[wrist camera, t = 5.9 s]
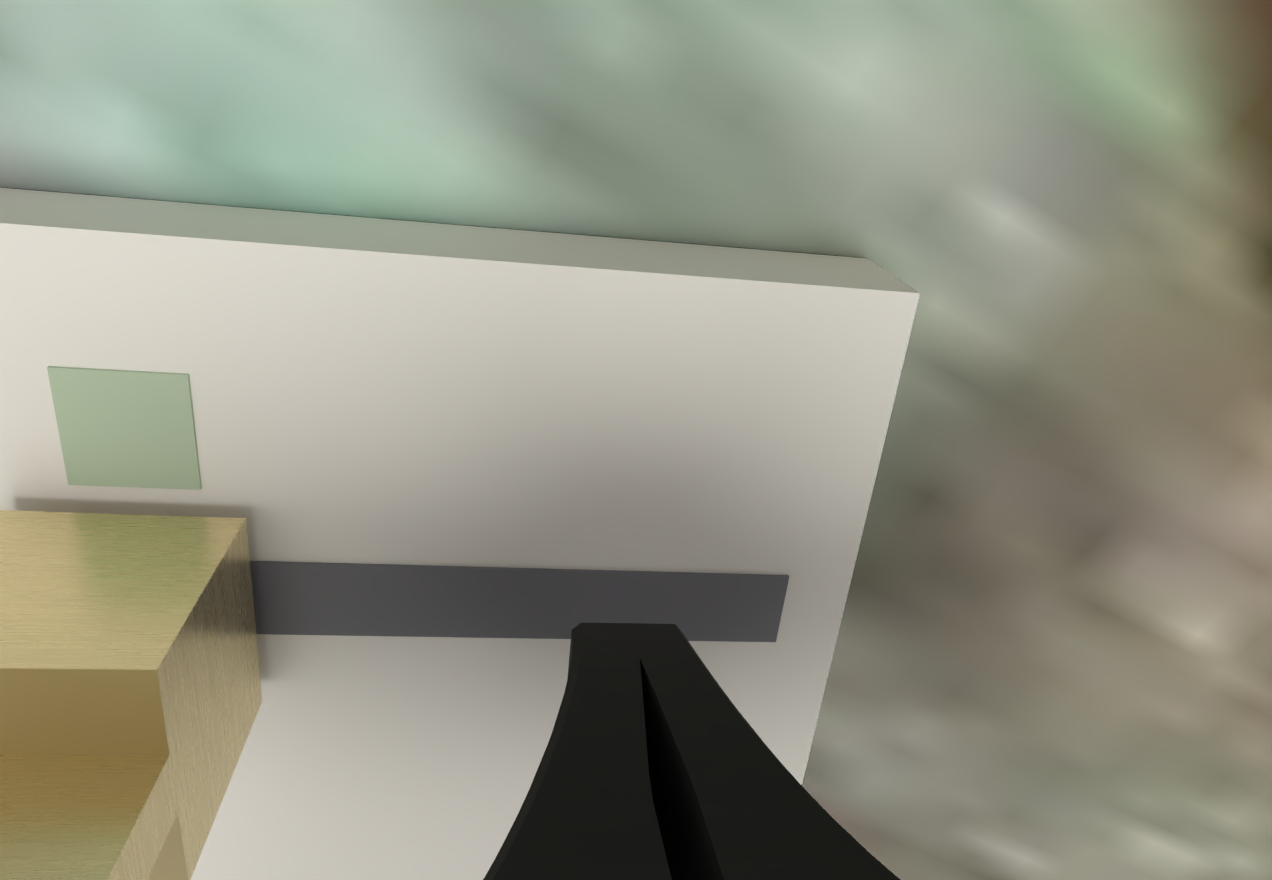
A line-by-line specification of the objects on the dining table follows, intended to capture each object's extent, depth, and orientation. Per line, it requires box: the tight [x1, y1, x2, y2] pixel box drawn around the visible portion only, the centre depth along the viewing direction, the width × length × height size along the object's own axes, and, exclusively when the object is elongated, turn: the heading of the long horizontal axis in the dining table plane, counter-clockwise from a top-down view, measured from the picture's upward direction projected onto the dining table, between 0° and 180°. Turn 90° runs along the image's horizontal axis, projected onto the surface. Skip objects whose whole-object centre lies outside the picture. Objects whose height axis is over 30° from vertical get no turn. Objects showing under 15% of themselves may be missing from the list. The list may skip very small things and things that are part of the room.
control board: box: [0, 188, 920, 880], centre depth 14 cm, size 18×24×3 cm
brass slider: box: [0, 510, 262, 880], centre depth 9 cm, size 3×3×5 cm
